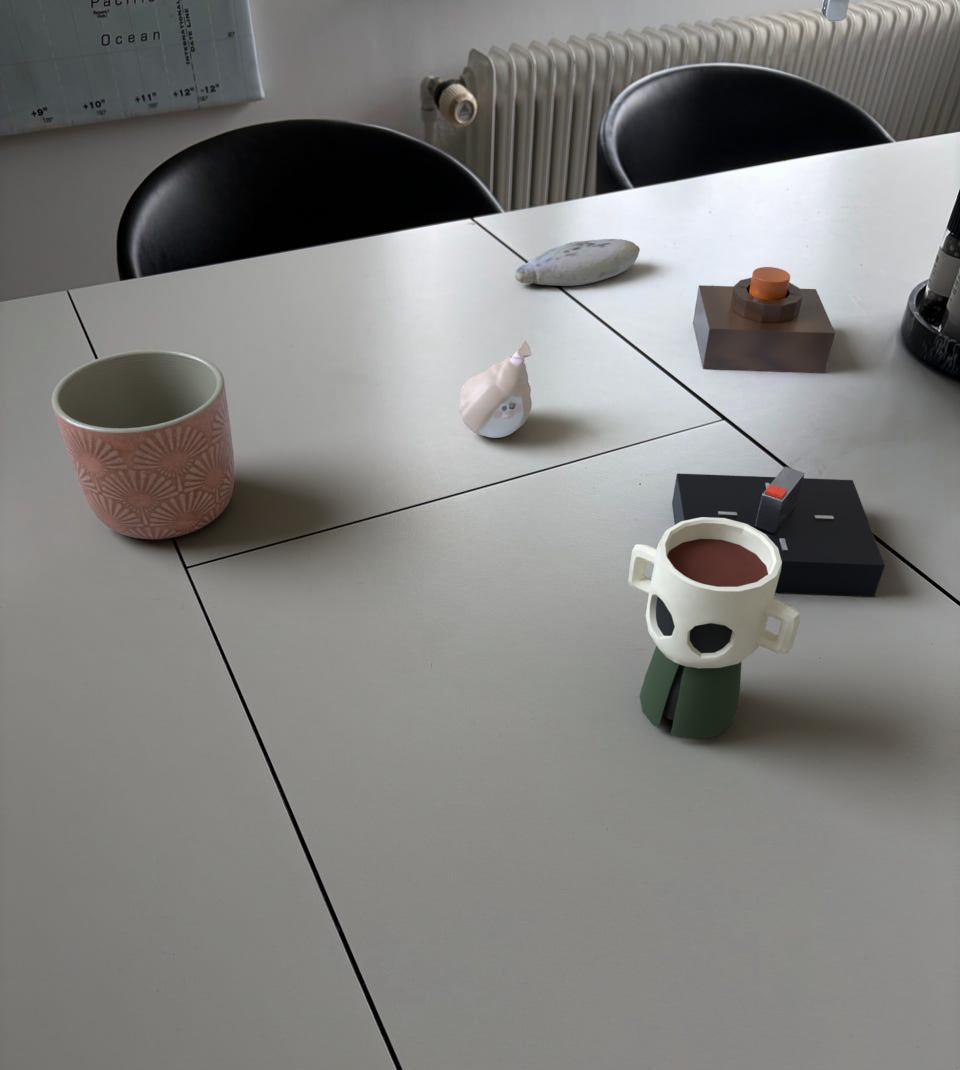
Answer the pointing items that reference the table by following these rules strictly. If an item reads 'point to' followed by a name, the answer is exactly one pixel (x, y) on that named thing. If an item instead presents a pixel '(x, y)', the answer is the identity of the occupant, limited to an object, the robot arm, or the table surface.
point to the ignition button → (769, 283)
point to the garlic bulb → (498, 397)
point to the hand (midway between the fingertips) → (832, 17)
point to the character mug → (707, 619)
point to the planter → (149, 440)
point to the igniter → (762, 330)
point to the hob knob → (779, 499)
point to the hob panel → (796, 530)
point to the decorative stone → (579, 263)
